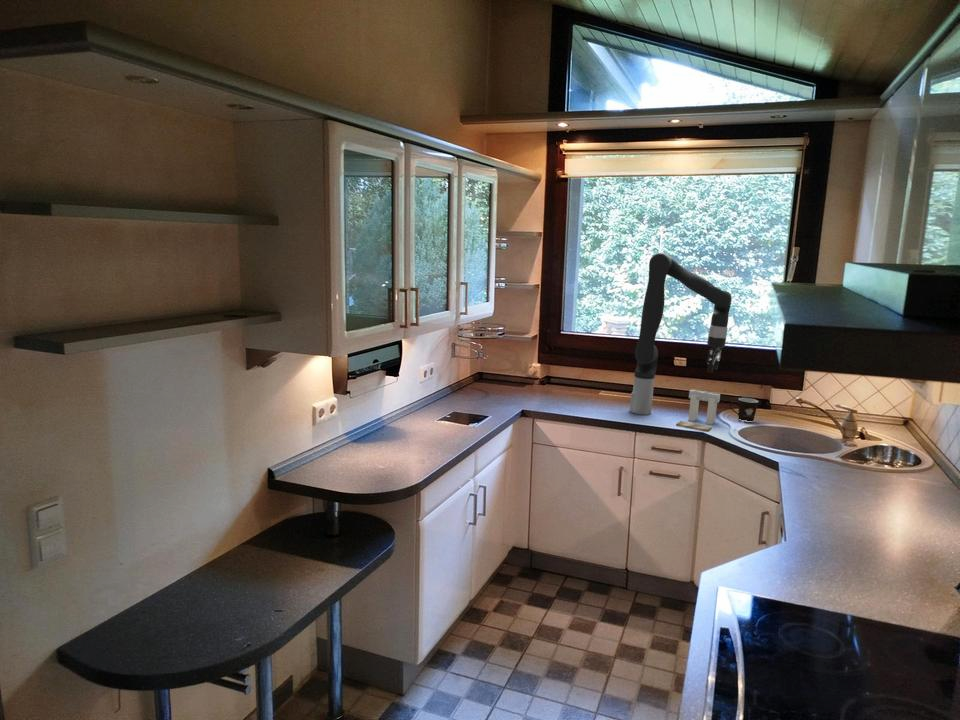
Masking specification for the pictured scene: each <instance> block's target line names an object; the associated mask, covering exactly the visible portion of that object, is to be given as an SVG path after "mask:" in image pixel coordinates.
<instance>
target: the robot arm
mask: <svg viewBox="0 0 960 720" xmlns="http://www.w3.org/2000/svg"><path fill="white" fill-rule="evenodd" d="M648 263H649V265H648V280H647V287H646V290H645V295H644V300H643V304H642V305H643V306H642V312H641V320H640V328H639V329H640V330H639V336H638V339H637V344H636V347H635V351H634V357H635V359H636V361H637V363H636V367H635V370H634V377H633V389H632V392H631V393H630V404H629V413H633V414H637V415H640V416H641V415H644V416H645V415H646V416H647V415H651V413H652V408H653V406H652V405H653V396H654V384H655V377H656V372H657V367H658V358H659V350H658V348H657V346H656V345H655V344H656V343H655V341H656V335H657V333H658V330H659V327H660V326H661V323H662V319H663V315H664V310H665V300H666V299H665V283H666V279H667V276H668V277H672V278H673V279H675V280H676V281H678V282H680V283H681V284H682V285H684V286H685V287H686V288H687V289H688V290H690V291H692V292H694V293H695V294H697V295H699V296H700V297H702V298H705V299H706V300H708V301H709V302H710V303H711V304H713V305H714V307H713V313H712V315H711V320H710V326H709V329H708V334H707V335H708V336H707V346H709V347H711V348H710V349H708V351H707V352H708V353H707V358H706V364H707V370H706V373H709V374H712V373H713V370H714V371H717V370H718V369H719V362H720V361H721V360H722V357H721V356H722V350H723V348H725V346H726V341H727V335H728V325H729V313H730V310H731V305H732V300H733V299H732V294H731V293H730V292H729V291H727V290H722V289H721V288H718V287H716V286H715V285H714V284H713V283H712V282H710V281H709V280H707V279H705V278H703V277H702V276H699V274H696V273H695V272H692V271H690V270H689V269H687V268H685V267H683V265H681V264H679V262H677V261H676V260H674V258H672V257H671V256H670V255H669V254H668V253H665V252H658V253H655V254H654V255H652V256H651V257H650V259H649V262H648Z"/></svg>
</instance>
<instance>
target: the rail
mask: <svg viewBox="0 0 960 720" xmlns="http://www.w3.org/2000/svg"><path fill="white" fill-rule="evenodd" d="M691 396H697V400H699V401H704V402H708V401H709V399H714V400H715V403H717V404H718V403H719V402H720V400H721V393H716V392H711V391H710V392H709V391H703V390H697V389H690V390H689V391H688V399H691Z"/></svg>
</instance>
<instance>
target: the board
mask: <svg viewBox="0 0 960 720" xmlns="http://www.w3.org/2000/svg"><path fill="white" fill-rule="evenodd" d="M675 426H677V427H680V428H681V427H683V428H687V429H692V430H698V431H701V432H702V431H703V432H708V433H709V432H710V430H712V426H709V425H703V424H697V423H694V422H687V421H682V420H680V421H678V422H676V424H675Z"/></svg>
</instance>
